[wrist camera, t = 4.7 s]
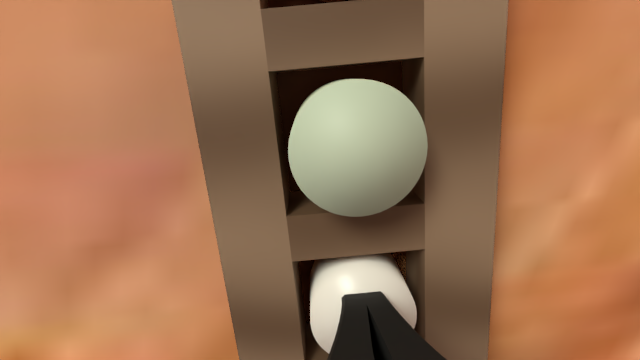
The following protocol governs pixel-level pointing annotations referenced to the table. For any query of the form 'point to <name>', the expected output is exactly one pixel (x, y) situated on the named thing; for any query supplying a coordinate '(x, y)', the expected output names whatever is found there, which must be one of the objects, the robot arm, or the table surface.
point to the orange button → (331, 0)
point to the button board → (317, 223)
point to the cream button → (354, 290)
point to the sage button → (357, 147)
